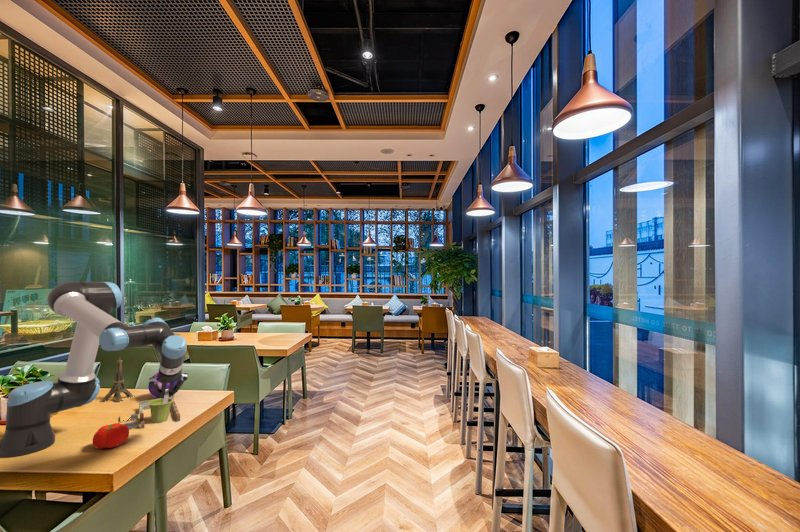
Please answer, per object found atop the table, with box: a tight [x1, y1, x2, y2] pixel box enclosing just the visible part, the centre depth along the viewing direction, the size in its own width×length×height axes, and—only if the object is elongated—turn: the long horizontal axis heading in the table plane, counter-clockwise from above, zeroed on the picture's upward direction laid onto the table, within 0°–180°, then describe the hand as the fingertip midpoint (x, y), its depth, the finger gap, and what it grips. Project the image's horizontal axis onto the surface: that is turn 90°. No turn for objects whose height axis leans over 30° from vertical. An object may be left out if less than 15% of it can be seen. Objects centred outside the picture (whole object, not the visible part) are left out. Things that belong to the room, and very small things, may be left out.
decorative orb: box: [148, 372, 179, 399], centre depth 193 cm, size 15×15×15 cm
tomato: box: [92, 422, 130, 450], centre depth 135 cm, size 11×11×8 cm
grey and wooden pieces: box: [121, 395, 181, 430], centre depth 165 cm, size 29×22×4 cm
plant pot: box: [148, 398, 173, 424], centre depth 160 cm, size 9×9×9 cm
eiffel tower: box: [99, 357, 134, 403], centre depth 191 cm, size 11×11×25 cm
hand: (165, 400), depth 146 cm, fingers closed
